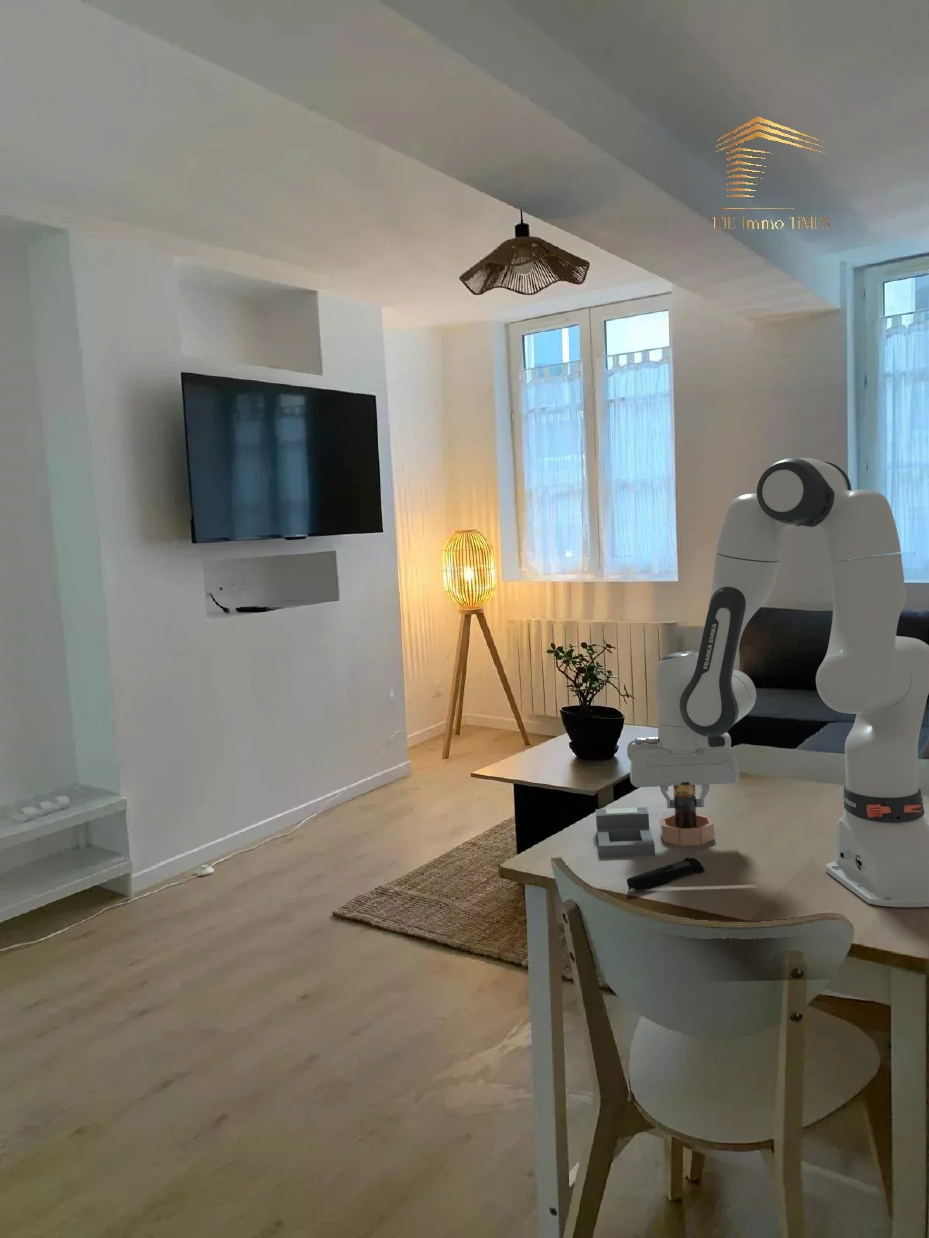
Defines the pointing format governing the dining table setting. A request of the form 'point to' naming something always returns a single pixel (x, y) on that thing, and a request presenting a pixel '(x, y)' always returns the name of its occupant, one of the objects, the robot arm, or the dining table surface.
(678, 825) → the cell
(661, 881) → the electric trimmer
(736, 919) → the dining table surface
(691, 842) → the dish
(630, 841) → the grey charging dock
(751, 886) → the dining table surface
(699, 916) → the dining table surface
